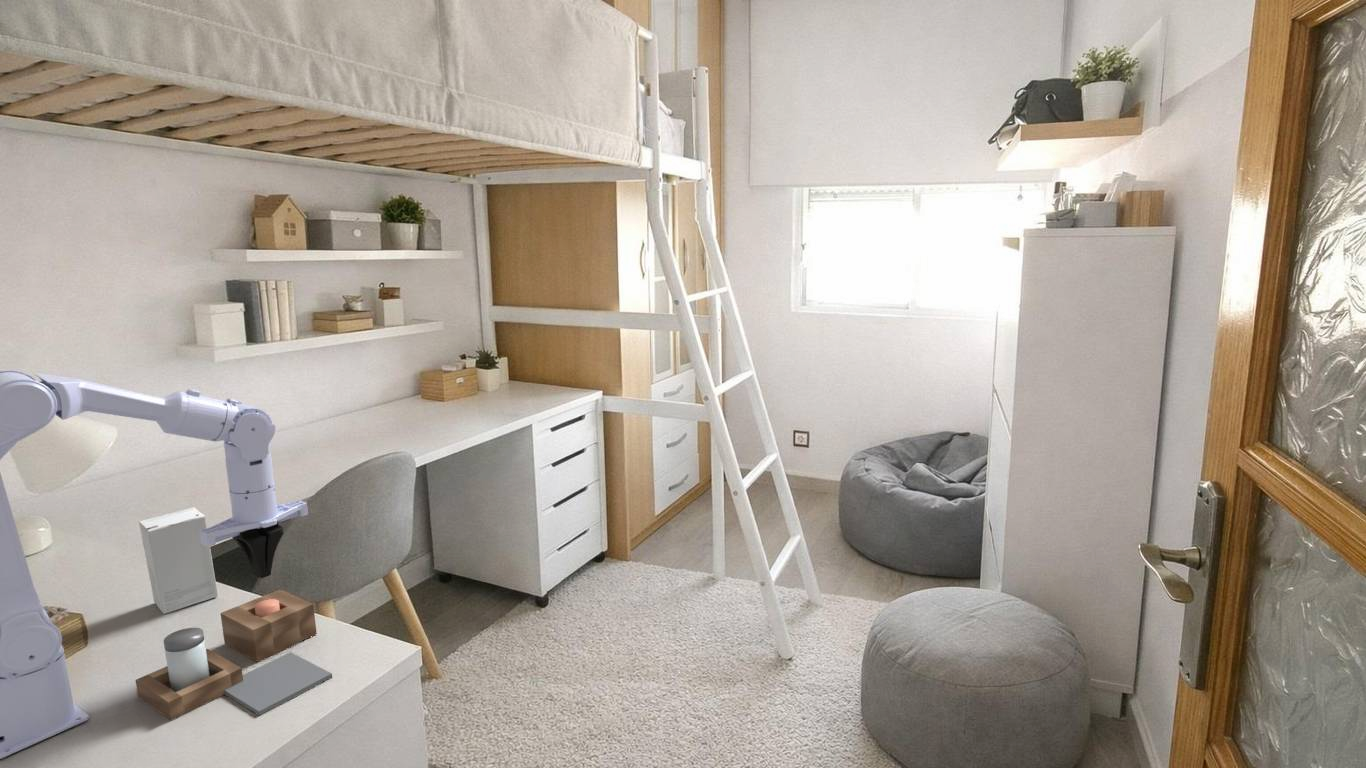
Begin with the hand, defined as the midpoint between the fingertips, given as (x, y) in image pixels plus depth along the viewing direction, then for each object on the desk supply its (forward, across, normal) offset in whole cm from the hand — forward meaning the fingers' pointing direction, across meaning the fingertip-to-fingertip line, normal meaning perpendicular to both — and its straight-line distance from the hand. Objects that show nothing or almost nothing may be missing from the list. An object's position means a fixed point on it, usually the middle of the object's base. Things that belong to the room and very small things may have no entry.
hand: (262, 575), depth 113 cm
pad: (+10, -6, -12) cm, 17 cm away
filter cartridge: (+10, -13, -4) cm, 17 cm away
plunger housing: (+10, 0, 0) cm, 10 cm away
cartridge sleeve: (+10, -13, -4) cm, 17 cm away
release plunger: (+10, 0, 0) cm, 10 cm away
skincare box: (+11, -1, +24) cm, 26 cm away
